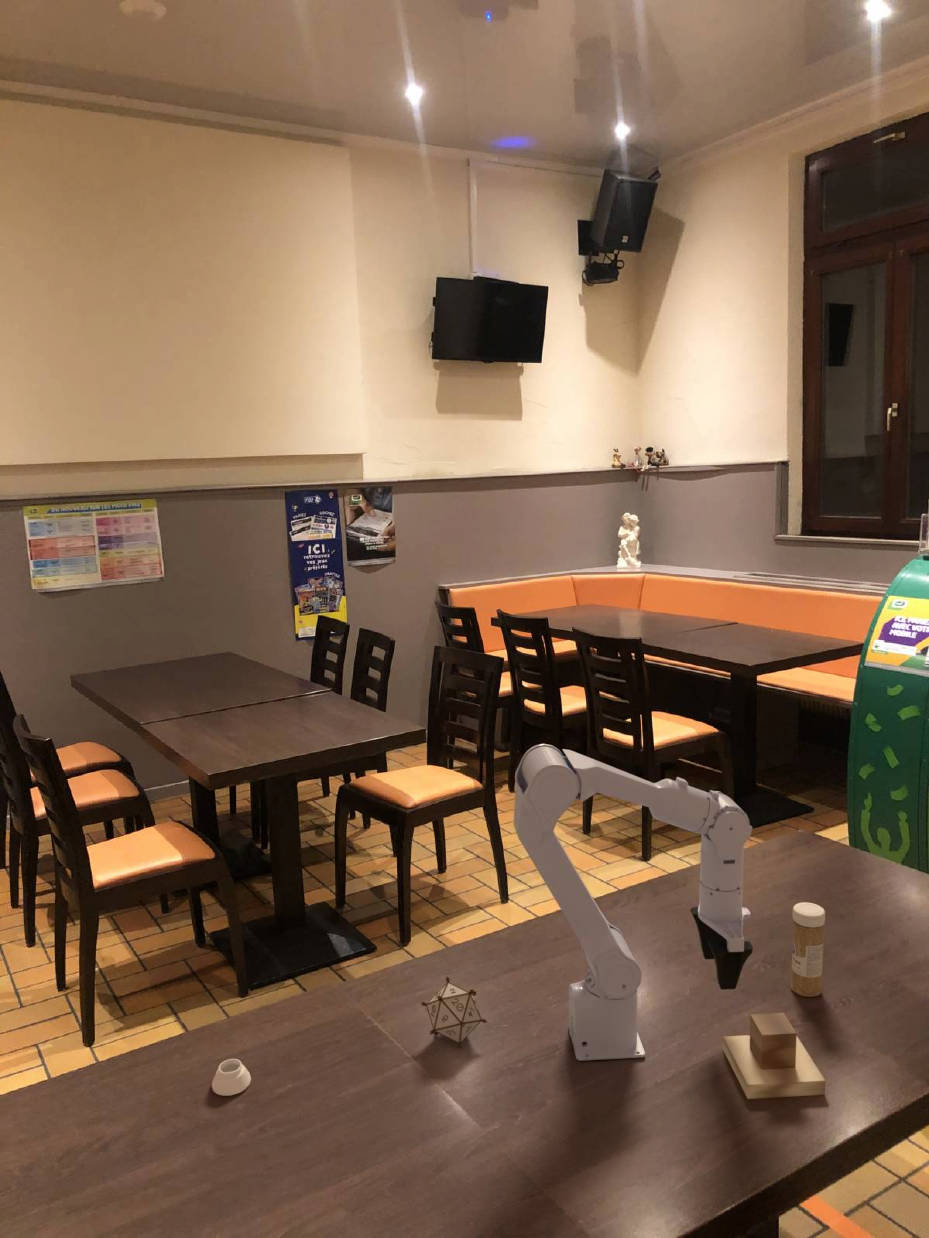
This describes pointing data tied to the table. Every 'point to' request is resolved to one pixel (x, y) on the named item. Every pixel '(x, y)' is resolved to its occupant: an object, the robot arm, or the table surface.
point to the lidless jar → (231, 1078)
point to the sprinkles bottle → (807, 949)
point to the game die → (453, 1012)
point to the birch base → (772, 1072)
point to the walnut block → (772, 1041)
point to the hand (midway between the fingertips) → (719, 972)
